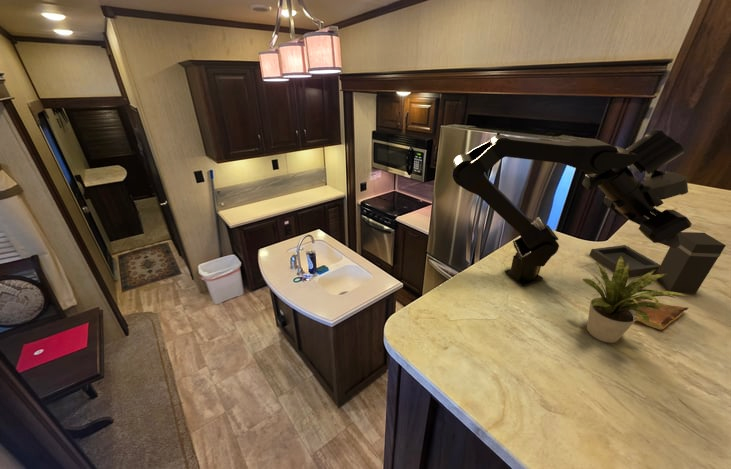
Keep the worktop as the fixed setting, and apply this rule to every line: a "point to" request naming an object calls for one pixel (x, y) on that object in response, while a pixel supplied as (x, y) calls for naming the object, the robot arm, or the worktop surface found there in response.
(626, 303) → the house plant
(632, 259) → the base pad
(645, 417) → the worktop surface
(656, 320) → the shard
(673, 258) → the dark banded block
